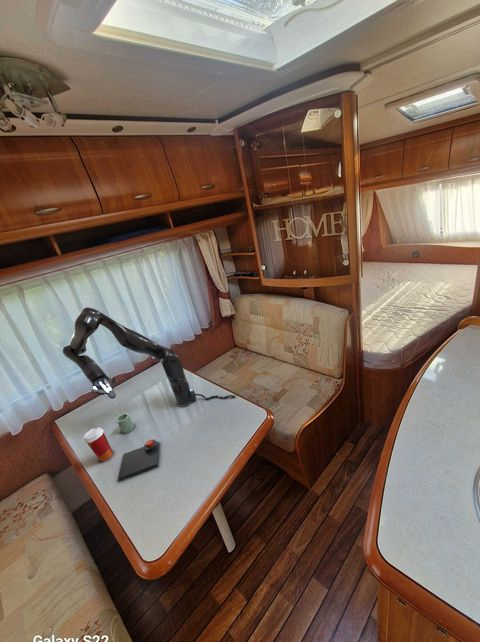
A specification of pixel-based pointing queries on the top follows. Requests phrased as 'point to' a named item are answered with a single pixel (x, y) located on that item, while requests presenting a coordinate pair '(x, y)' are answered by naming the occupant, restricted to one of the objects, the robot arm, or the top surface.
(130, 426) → the tumbler
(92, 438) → the coffee cup
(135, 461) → the scale
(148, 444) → the tare button
